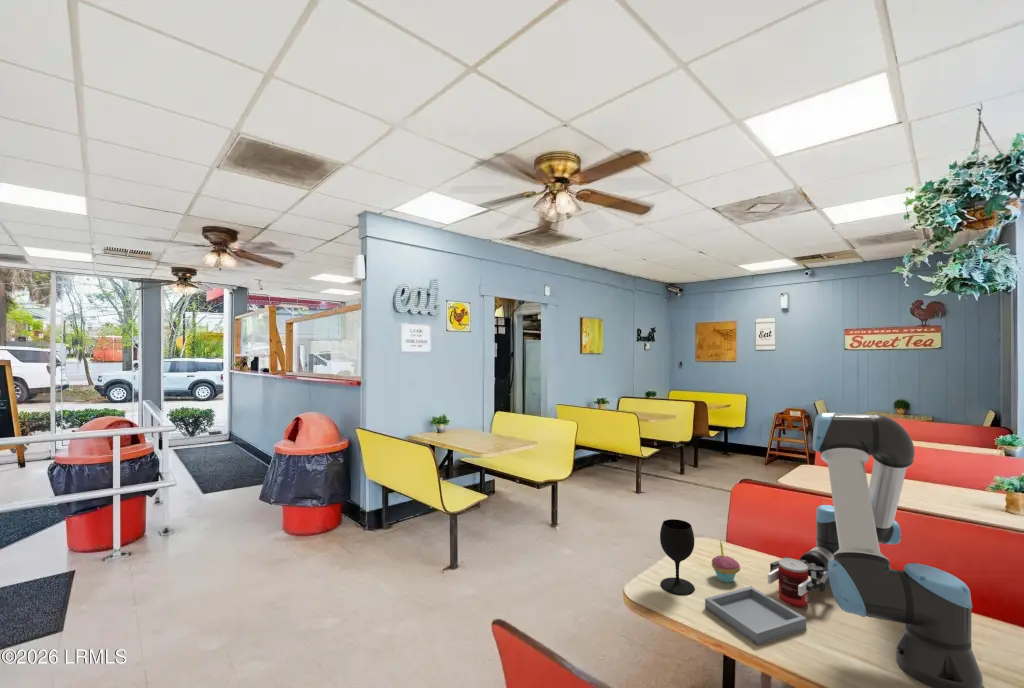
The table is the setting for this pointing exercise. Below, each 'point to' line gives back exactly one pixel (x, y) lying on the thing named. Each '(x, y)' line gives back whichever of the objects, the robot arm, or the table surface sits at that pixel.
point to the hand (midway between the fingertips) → (784, 584)
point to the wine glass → (677, 553)
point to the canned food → (792, 581)
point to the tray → (755, 615)
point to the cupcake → (725, 567)
